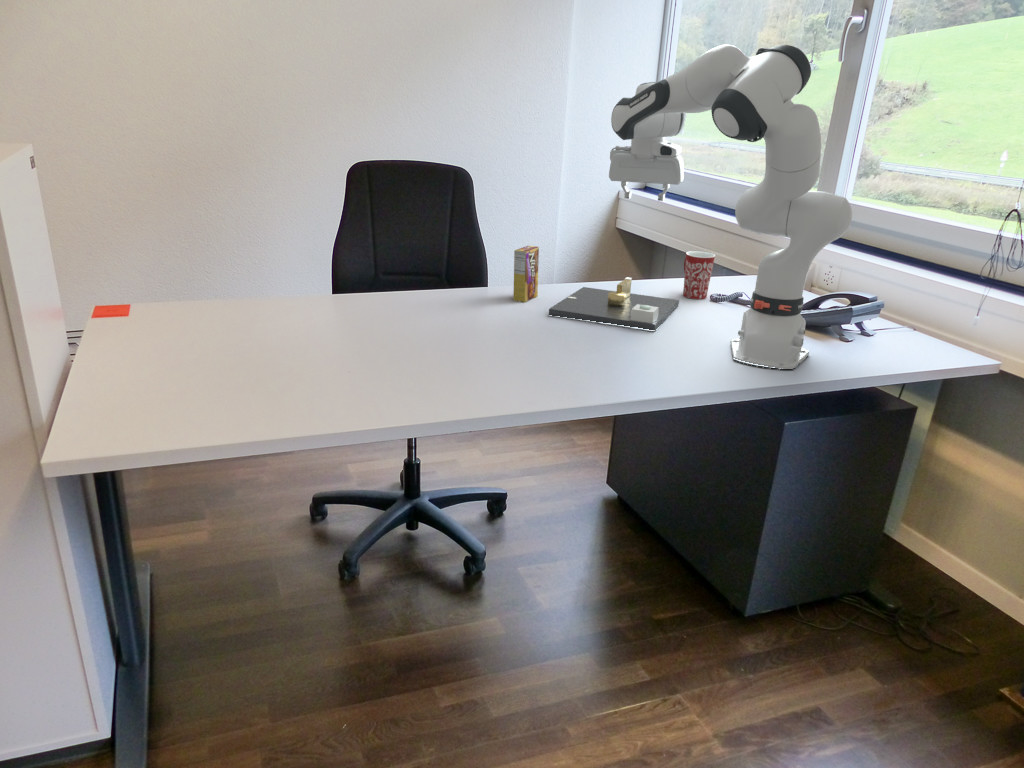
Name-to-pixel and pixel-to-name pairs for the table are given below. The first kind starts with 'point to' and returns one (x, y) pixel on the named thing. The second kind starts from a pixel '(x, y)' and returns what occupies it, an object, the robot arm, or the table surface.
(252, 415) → the table surface
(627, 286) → the brass lever knob
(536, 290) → the candy box
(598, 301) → the base plate
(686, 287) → the mug
